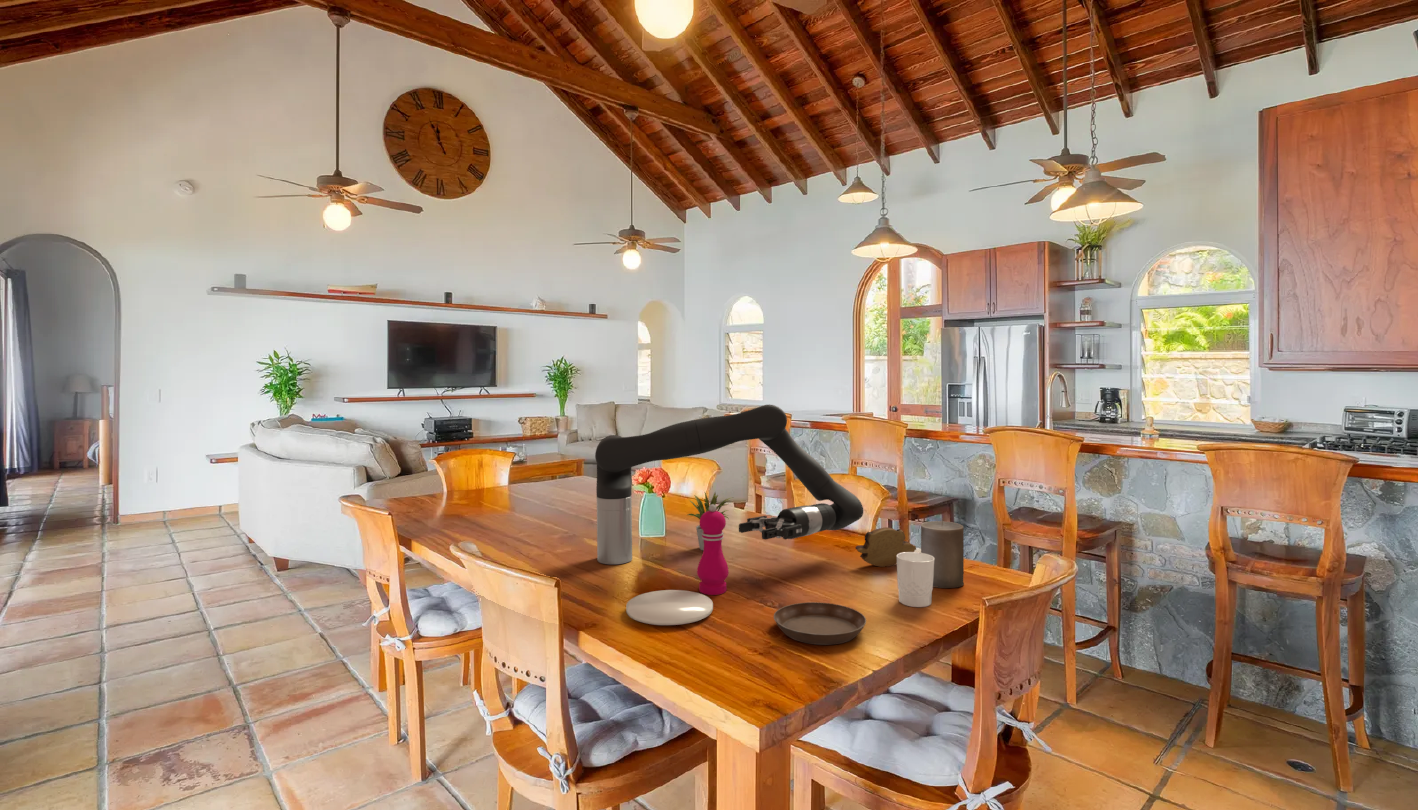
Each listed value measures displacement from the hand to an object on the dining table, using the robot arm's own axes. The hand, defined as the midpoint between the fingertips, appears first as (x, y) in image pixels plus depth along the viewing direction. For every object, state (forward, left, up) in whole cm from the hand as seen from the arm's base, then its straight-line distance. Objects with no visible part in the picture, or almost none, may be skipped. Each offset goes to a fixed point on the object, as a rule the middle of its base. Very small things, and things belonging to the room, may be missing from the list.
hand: (751, 531), depth 160 cm
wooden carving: (+8, +37, -12) cm, 39 cm away
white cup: (+31, +22, -12) cm, 40 cm away
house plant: (-29, +7, -12) cm, 32 cm away
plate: (+8, -26, -12) cm, 30 cm away
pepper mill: (+1, -11, -12) cm, 17 cm away
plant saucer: (+32, -6, -12) cm, 35 cm away
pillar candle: (+25, +38, -12) cm, 47 cm away
